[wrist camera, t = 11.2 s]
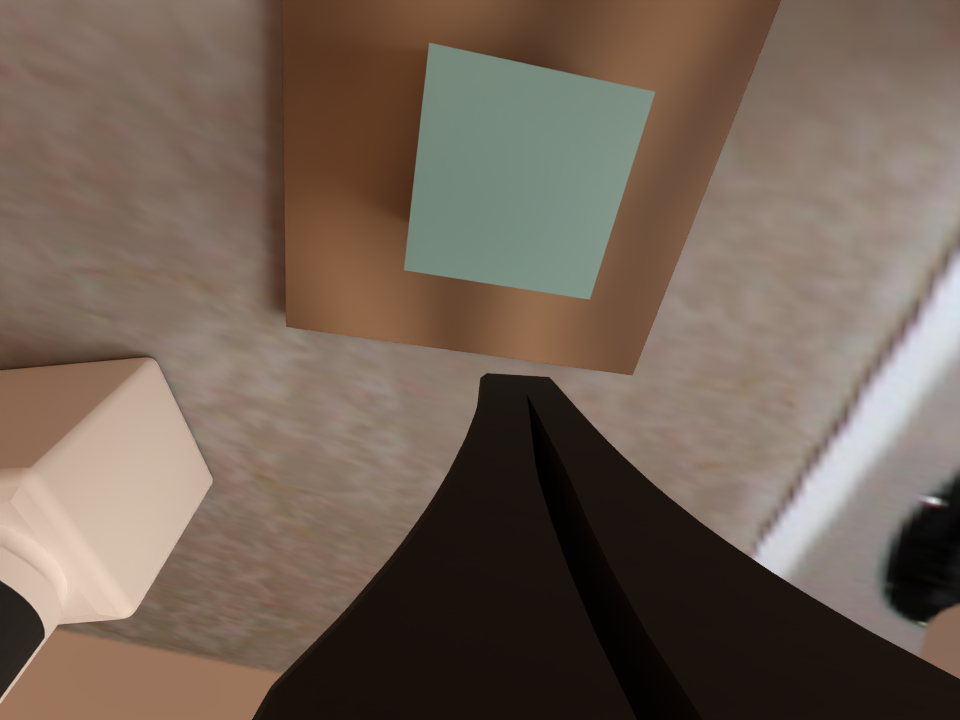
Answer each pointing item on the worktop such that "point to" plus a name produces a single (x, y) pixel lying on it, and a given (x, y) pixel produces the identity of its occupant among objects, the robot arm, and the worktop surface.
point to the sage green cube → (519, 172)
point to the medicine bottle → (87, 496)
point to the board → (393, 150)
